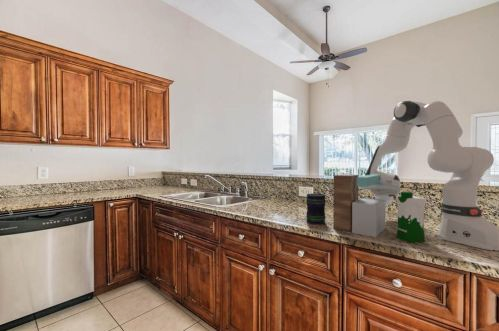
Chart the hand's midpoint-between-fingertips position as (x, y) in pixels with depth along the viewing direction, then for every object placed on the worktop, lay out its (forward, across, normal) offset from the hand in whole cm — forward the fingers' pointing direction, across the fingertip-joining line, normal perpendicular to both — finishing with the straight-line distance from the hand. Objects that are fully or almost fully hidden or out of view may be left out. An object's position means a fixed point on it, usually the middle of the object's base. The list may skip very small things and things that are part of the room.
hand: (374, 177), depth 121 cm
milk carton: (0, +17, +28) cm, 33 cm away
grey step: (-3, 0, +26) cm, 27 cm away
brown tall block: (-2, -10, +27) cm, 29 cm away
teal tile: (+7, 0, +7) cm, 10 cm away
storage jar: (-2, -26, +28) cm, 38 cm away
